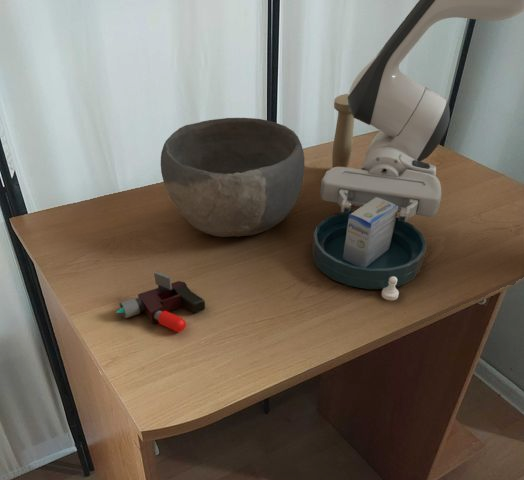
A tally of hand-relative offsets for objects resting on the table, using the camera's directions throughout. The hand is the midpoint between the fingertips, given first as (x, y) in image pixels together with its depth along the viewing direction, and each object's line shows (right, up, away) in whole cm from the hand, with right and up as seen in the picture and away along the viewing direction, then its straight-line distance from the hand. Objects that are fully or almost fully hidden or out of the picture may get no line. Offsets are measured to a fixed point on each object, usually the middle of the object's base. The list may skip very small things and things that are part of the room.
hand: (374, 213), depth 87 cm
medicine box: (-1, -6, +4) cm, 7 cm away
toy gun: (-33, -18, -8) cm, 38 cm away
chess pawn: (+2, -14, -3) cm, 14 cm away
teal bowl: (-1, -7, +4) cm, 8 cm away
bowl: (-23, +1, +12) cm, 26 cm away
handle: (-2, +15, +28) cm, 32 cm away
